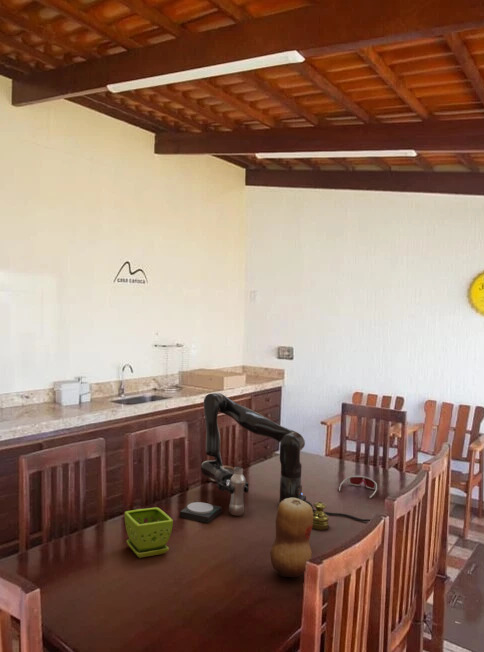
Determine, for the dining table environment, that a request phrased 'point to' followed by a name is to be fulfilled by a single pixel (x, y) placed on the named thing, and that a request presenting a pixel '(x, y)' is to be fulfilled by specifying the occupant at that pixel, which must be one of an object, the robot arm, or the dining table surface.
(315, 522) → the golden figurine
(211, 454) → the robot arm
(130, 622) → the dining table surface
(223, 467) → the tin
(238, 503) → the plastic bottle
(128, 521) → the flower pot
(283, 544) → the butternut squash
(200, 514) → the kitchen scale
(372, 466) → the dining table surface
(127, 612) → the dining table surface
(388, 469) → the dining table surface
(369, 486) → the sunglasses
